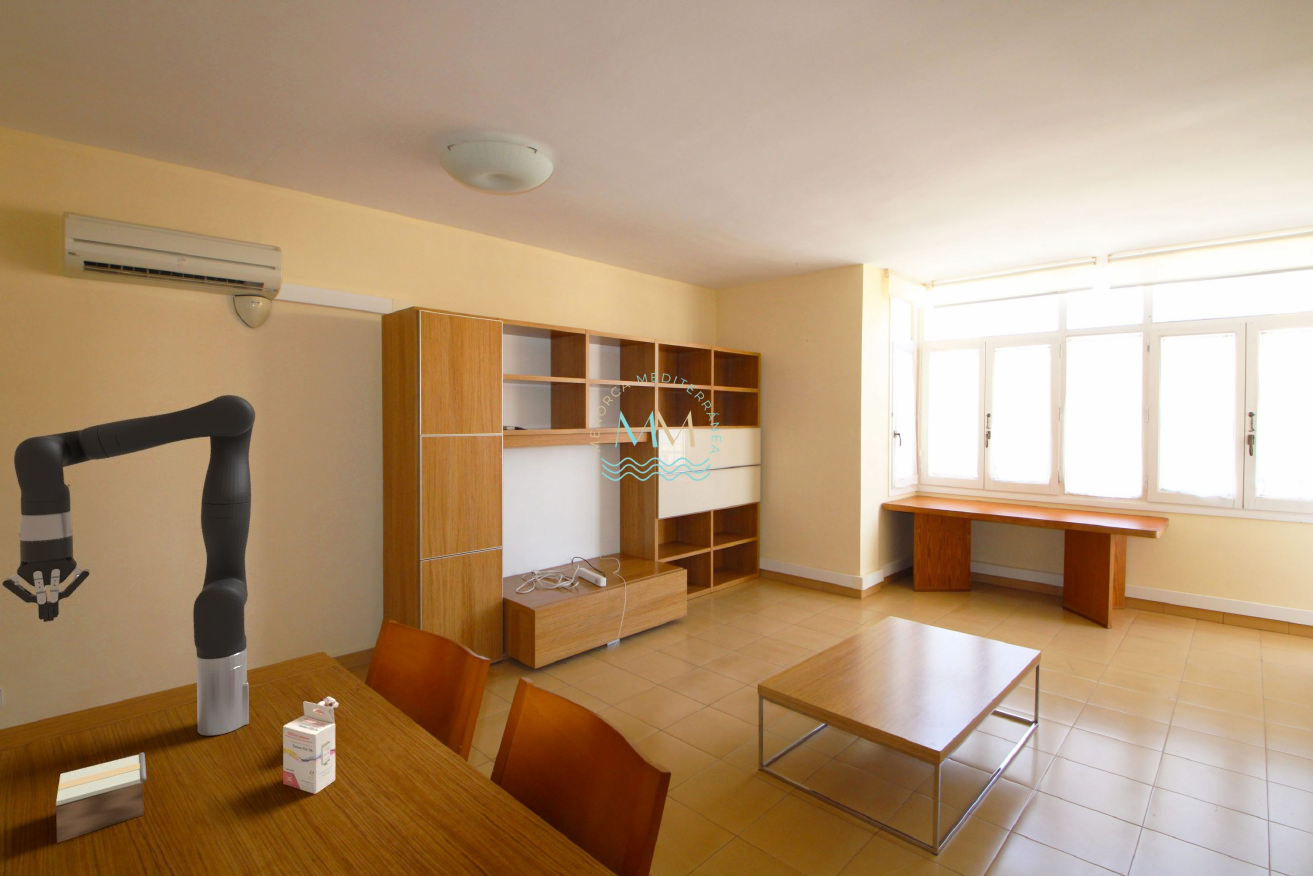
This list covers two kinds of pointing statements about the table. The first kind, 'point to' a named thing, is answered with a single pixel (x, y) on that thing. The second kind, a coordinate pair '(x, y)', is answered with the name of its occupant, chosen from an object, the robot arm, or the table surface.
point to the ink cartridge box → (310, 749)
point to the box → (98, 811)
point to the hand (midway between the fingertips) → (48, 620)
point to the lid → (101, 778)
